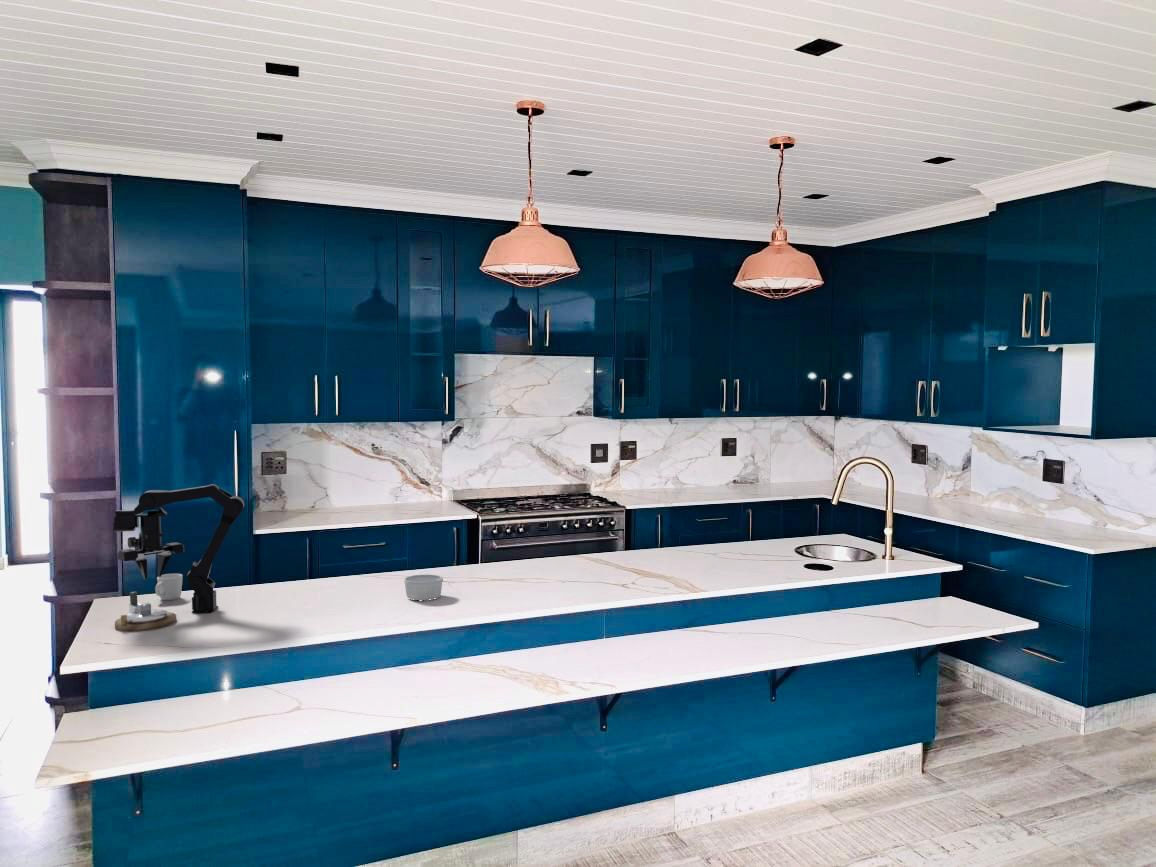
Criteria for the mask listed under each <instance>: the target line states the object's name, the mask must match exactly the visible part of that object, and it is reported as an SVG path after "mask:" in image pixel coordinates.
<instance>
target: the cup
mask: <svg viewBox="0 0 1156 867" xmlns="http://www.w3.org/2000/svg"><path fill="white" fill-rule="evenodd" d="M183 576H184V575H183V574H182V573H165V574H162V575H161V577H158V576H157V577H156V581H157V583H156V585H155V587H154V590H155V594H156V596H157V597H159V598H160V600H163V601H172V600H177V599H179V598H181V595H182V590H183V589H182V587H183Z"/></svg>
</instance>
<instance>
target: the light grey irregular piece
mask: <svg viewBox="0 0 1156 867" xmlns="http://www.w3.org/2000/svg"><path fill="white" fill-rule="evenodd" d="M129 603H130V604H129V605H128V608H129V613H126V614H125V615H127V623H149V622H154V621H158V620H162V619H164V618H166V617H167V612H168V610H165V609H162V608H161V609H160V608H155V609H154V608H152V604H151V603H149V602H148V603H142V604H141V603H139V602H138V591H131V592H129Z"/></svg>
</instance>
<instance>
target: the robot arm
mask: <svg viewBox="0 0 1156 867" xmlns="http://www.w3.org/2000/svg"><path fill="white" fill-rule="evenodd" d="M205 498H206V499H207V498H210V499H212V500H213V501H214V502H215V503H217V504H219V506H221V507H222V508H223V510H222V514H221V516H220V521H219V523H218V525H217V527H216V529H215V531H214V534H213V535H212V537H211V540H210V542H209V543H208V546H207V547H206V550H205V551H204V554H203V555H202V556H201V559H199V561H198V562H196V561H193V562H192V565H191V568H190V570H189V571H188V572H187V574H186V577H187V579H186V581H187V582H186V584H187V586H188V587H189V588H190V589H192V590H193V593H192V596H193V597H191V610H192V611H191V613H192V614H196V613H199V614H200V613H201V614H203V613H206V614H207V613H213V612H215V611H216V610H217V609H218V608H219V605H218V604H217V590H215V589H214V588H215V585H216V582H215V581H214V580H213V579H211V578H210V576H209V575H210V572H211V568H212V565H213V563H214V560H215V559H216V557H217V554H218V553H219V550H220V548H221V547H222V544H223V542H224V540H225V538H226V536H227V534H228V532H229V530H230V528H231V527H232V525H234V523H235V521H236V520H237V519H238V517H239V516H240V515H241V514H242V513H243V510H244V507H245V502H244V499H243V498H241V497H240V496H238V495H232V494H231V493H229V492H227V491H226V490H224V489H222V488H220V487H219V486H218V485H217V484H214V483H213V484H212V483H211V484H209V485H203V486H196V487H190V488H189V487H188V488H182V489H181V488H180V489H176V490H165V489H164V490H163V489H162V490H161V489H152V490H151V489H150V490H146V491H145V492H143V493H142V494H141V495H140V496H139V498H138V504H137V506H135V507H134V509H129V510H123V509H122V510H121V509H116V510H115V511H114V517H113V521H112V522H113V523H112V524H113V531H114V533H119V532H120V533H121V532H135V531H136V529H137V528H139V527H140V533H139V534H138V537H136V536H130V537H127V546H128V548H126V549H120V550H118V552H117V560H119V561H122V562H130V561H133V562H135V564H136V565H137V566H138V568H139V570H140V574H141V576H142V578H143V580H147V579H148V559H147V558H145V556H150V555H155V554H156V557H157V577H161V575H163V572H164V570H165V568H166V565H167V564H168V562H169V561H170V559H171V558H173V557H174V555H173V554H172V553H174V554H175V555H176V554H183V553H185V546H184V544H183V543H180V542H176V541H175V542H168V543H165V544H164V545H162V537H164V533H163V532H162V528H161V527H162V526H161V520H162V519H161V517H165V516H166V515H168V512H167V511H165V510H164V509H163V508H162V507H164V506H167V505H170V504H173V503H178V502H179V503H181V502H186V501H192V500H193V501H194V500H199V499H200V500H201V499H205ZM158 508H159V509H158ZM155 509H156V510H155ZM157 509H158V510H157ZM145 511H147V513H143V512H145ZM133 548H134V549H133Z"/></svg>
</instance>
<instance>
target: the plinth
mask: <svg viewBox="0 0 1156 867" xmlns="http://www.w3.org/2000/svg"><path fill="white" fill-rule="evenodd" d="M176 622H177V614H176V613H174V612H170V611H167V617H166V618H164V619H162V620H158V621H154V622H149V623H127V615H126V614H121V615H120V617H119V618H118V619H116V620H115V621H114V629H115V630H118V631H121V632H129V633H130V632H146V631H154V630H158V629H162V628H167V627H169V626H171V625H174V624H175V623H176Z"/></svg>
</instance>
